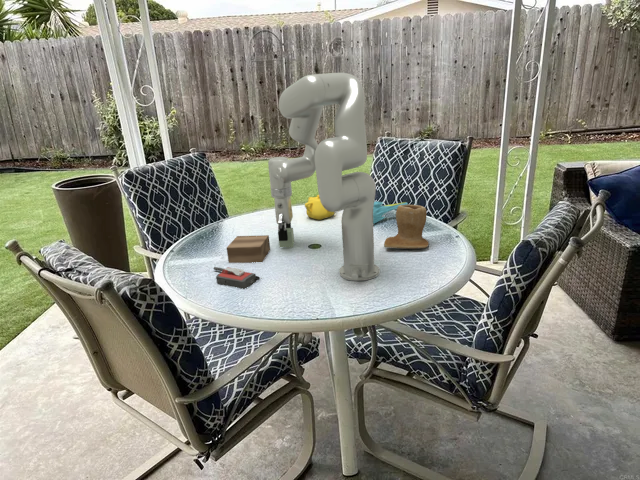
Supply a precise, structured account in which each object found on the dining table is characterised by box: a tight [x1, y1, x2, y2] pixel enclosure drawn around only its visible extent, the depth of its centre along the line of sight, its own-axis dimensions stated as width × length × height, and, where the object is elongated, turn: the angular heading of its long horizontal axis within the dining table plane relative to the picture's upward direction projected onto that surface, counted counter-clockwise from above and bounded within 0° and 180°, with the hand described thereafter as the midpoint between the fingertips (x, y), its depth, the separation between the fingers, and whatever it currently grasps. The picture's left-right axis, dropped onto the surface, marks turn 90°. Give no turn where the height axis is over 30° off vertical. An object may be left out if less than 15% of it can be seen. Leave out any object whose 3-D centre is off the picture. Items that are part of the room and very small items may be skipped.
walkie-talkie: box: [213, 266, 261, 290], centre depth 140 cm, size 9×4×20 cm
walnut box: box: [226, 234, 271, 264], centre depth 158 cm, size 12×12×6 cm
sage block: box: [277, 227, 295, 248], centre depth 166 cm, size 5×5×6 cm
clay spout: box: [383, 204, 430, 250], centre depth 155 cm, size 15×12×15 cm
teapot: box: [304, 194, 335, 221], centre depth 197 cm, size 14×13×10 cm
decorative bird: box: [373, 201, 409, 225], centre depth 183 cm, size 14×30×9 cm, turn 130°
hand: (285, 236), depth 166 cm, fingers open, 9 cm apart
